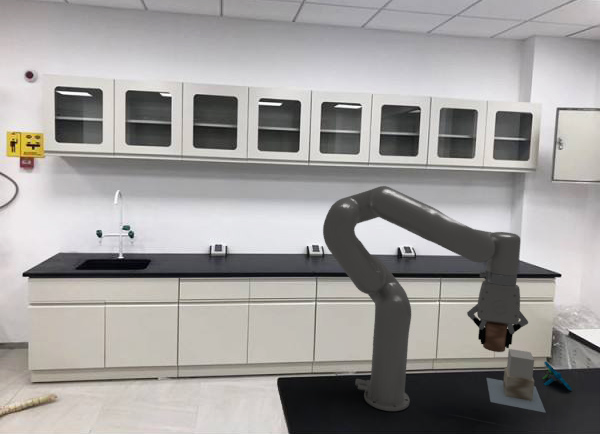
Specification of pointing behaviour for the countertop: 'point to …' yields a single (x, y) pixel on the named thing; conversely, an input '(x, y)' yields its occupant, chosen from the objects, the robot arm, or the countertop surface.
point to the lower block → (518, 387)
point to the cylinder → (495, 336)
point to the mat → (499, 397)
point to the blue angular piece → (554, 376)
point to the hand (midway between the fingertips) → (494, 343)
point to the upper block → (520, 364)
